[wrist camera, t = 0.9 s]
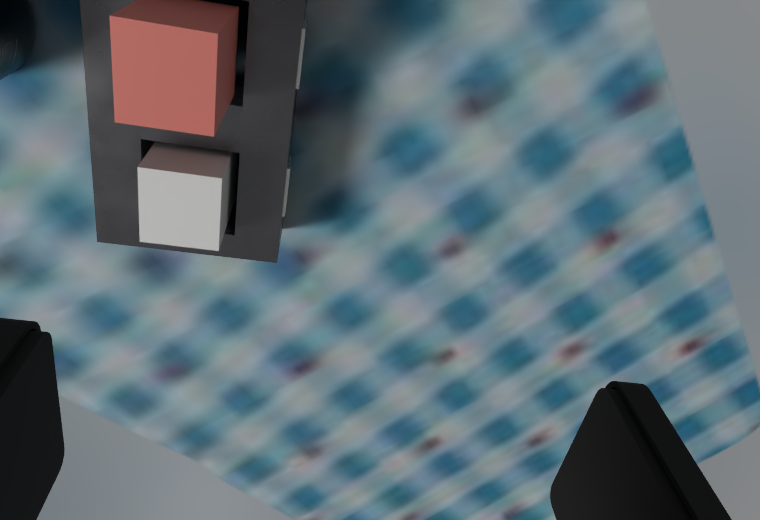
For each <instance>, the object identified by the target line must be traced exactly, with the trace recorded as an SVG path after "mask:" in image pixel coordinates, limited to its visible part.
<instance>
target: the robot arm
mask: <svg viewBox="0 0 760 520" xmlns="http://www.w3.org/2000/svg"><path fill="white" fill-rule="evenodd" d="M63 458H64V440H63V432H62V423H61V415H60V407H59V397H58V389H57V380H56V371H55V363H54V354H53V346H52V338H51V335H50V333H48V332H42V331H41V329H40V326H39V324H38V323H37V322H34V321H25V320H15V319H6V318H0V520H36V519H37V517H38V515H39V513H40V511H41V509H42V507H43V505H44V503H45V501H46V498H47V496H48V494H49V492H50V490H51V488H52V486H53V484H54V482H55V480H56V478H57V475H58V473H59V471H60V469H61V466H62V463H63ZM550 498H551V504H552V508H553V511H554V514H555V517H556V519H557V520H731V518H730V516H729V515H728V513H727V512H726V510H725V508H724V507H723V505H722V504H721V502H720V501H719V499H718V497H717V496H716V494H715V493H714V491H713V489H712V488H711V486H710V485H709V483H708V481H707V480H706V478H705V477H704V475H703V473H702V472H701V470H700V469H699V467H698V465H697V464H696V462H695V461H694V459H693V458H692V456H691V454H690V453H689V451H688V450H687V448H686V446H685V445H684V443H683V442H682V440H681V438H680V437H679V435H678V434H677V432H676V430H675V429H674V427H673V426H672V424H671V422H670V421H669V419H668V418H667V416H666V415H665V413H664V411H663V410H662V408H661V407H660V405H659V403H658V402H657V400H656V399H655V397H654V395H653V394H652V392H651V391H650V389H649V388H648V387H647V386H646V385H644V384H638V383H628V382H618V381H611V382H610V383H609V384H608V385H607V386H606V387H605V388H601V389H599V390H598V392H597V393H596V395H595V397H594V399H593V401H592V403H591V405H590V407H589V409H588V412H587V414H586V416H585V418H584V420H583V422H582V424H581V426H580V428H579V430H578V432H577V434H576V436H575V438H574V440H573V442H572V444H571V446H570V449H569V451H568V453H567V455H566V457H565V459H564V461H563V463H562V465H561V467H560V469H559V471H558V473H557V475H556V477H555V479H554V481H553V483H552V486H551V492H550Z"/></svg>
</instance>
